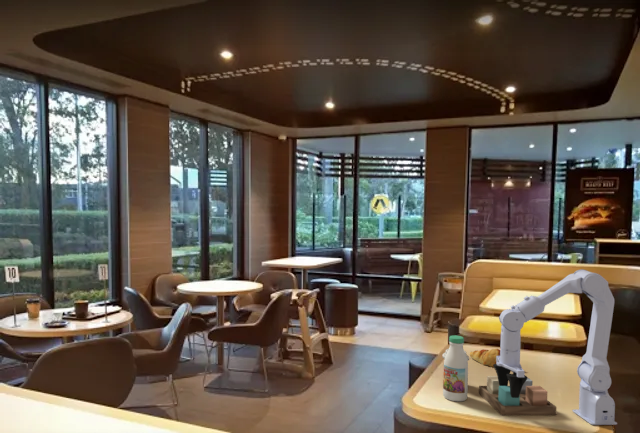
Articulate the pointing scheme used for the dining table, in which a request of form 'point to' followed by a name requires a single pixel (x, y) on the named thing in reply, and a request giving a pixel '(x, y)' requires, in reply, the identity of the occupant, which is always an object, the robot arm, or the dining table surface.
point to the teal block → (507, 397)
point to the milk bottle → (455, 371)
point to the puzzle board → (530, 399)
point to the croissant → (486, 356)
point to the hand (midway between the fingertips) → (509, 392)
